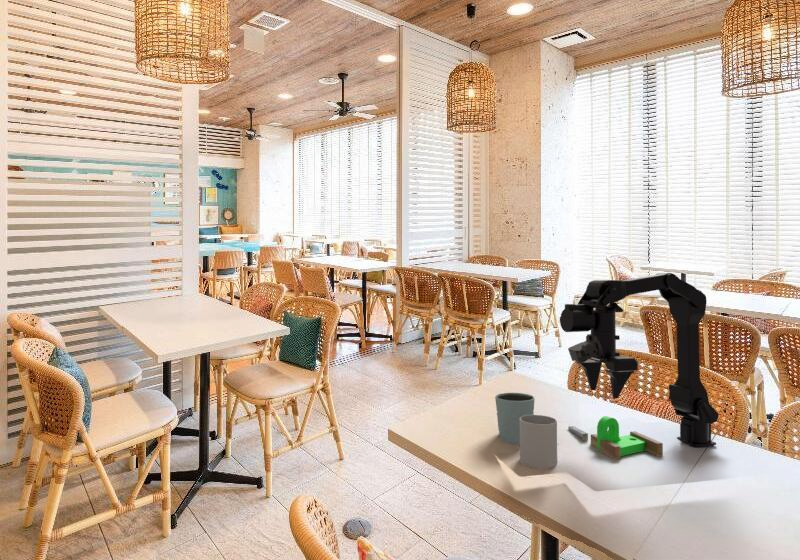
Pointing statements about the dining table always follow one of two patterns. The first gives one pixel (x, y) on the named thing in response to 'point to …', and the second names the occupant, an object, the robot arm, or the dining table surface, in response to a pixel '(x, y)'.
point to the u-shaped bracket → (579, 433)
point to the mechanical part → (617, 436)
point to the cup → (538, 441)
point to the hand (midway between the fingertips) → (603, 394)
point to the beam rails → (615, 450)
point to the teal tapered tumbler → (512, 414)
